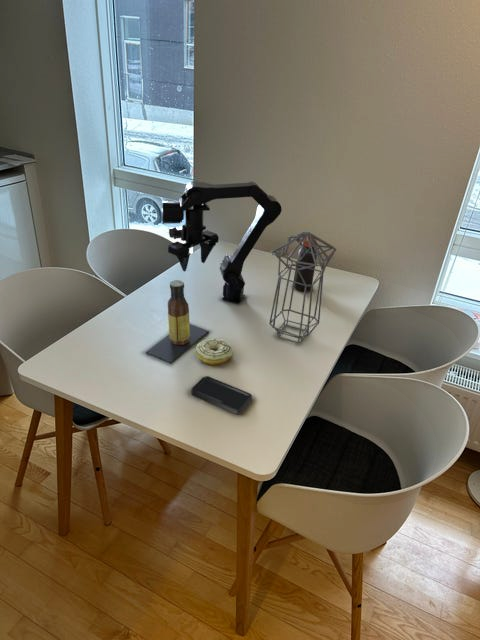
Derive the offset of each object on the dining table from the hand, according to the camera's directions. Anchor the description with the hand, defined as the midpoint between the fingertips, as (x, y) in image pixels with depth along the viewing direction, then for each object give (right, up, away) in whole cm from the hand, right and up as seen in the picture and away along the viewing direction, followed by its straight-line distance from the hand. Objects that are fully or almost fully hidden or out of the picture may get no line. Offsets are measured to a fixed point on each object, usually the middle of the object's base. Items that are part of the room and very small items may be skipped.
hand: (193, 266), depth 161 cm
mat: (-3, -25, -15) cm, 30 cm away
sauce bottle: (-3, -25, -15) cm, 29 cm away
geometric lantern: (+32, -23, -8) cm, 41 cm away
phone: (+11, -38, -35) cm, 53 cm away
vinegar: (+39, -6, +20) cm, 44 cm away
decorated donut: (+8, -29, -20) cm, 36 cm away
